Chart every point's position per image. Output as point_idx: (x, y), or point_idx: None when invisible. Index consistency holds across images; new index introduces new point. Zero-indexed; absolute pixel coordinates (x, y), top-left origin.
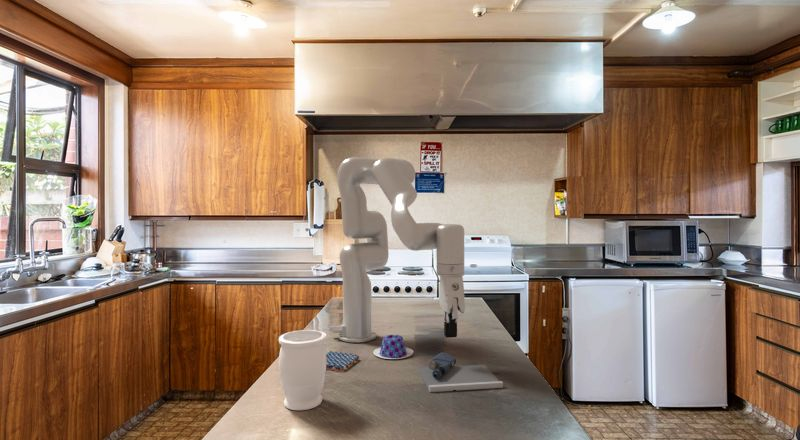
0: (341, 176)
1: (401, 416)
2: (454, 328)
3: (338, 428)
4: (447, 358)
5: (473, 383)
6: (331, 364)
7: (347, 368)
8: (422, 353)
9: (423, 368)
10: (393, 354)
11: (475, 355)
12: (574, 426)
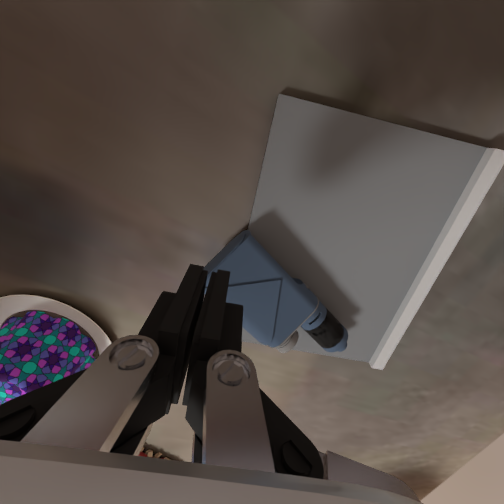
0: None
1: (439, 430)
2: (241, 334)
3: None
4: (256, 279)
5: (440, 258)
6: None
7: (160, 455)
8: (56, 267)
9: None
10: (86, 367)
11: (110, 37)
12: None
